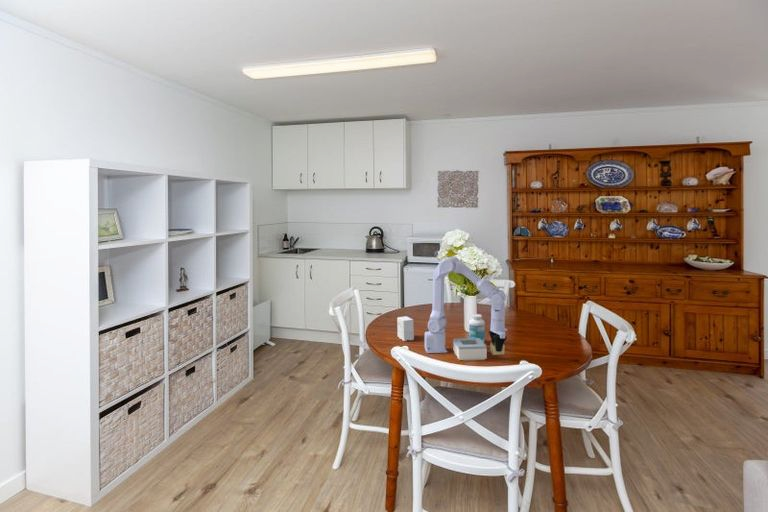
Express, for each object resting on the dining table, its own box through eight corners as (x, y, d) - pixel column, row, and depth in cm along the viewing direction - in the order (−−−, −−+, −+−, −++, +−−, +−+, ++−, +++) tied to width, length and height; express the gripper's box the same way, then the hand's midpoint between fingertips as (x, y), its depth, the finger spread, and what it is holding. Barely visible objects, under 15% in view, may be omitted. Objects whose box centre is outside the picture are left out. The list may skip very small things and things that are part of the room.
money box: (458, 360, 180) (459, 347, 179) (453, 351, 192) (453, 338, 191) (486, 359, 180) (486, 346, 180) (479, 350, 192) (479, 337, 192)
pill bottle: (465, 341, 207) (466, 314, 205) (478, 339, 209) (479, 312, 208) (474, 345, 200) (474, 317, 198) (487, 343, 202) (487, 316, 201)
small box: (413, 340, 209) (413, 319, 208) (403, 341, 207) (403, 320, 206) (407, 335, 217) (407, 315, 216) (397, 337, 215) (397, 317, 214)
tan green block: (492, 354, 179) (493, 345, 179) (490, 351, 183) (490, 342, 183) (504, 354, 180) (504, 345, 179) (501, 351, 184) (501, 342, 183)
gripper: (512, 323, 173) (512, 355, 174) (501, 314, 187) (501, 344, 189) (496, 323, 172) (495, 355, 174) (486, 314, 187) (485, 344, 188)
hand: (497, 349), depth 181 cm, fingers closed on tan green block, 4 cm apart
